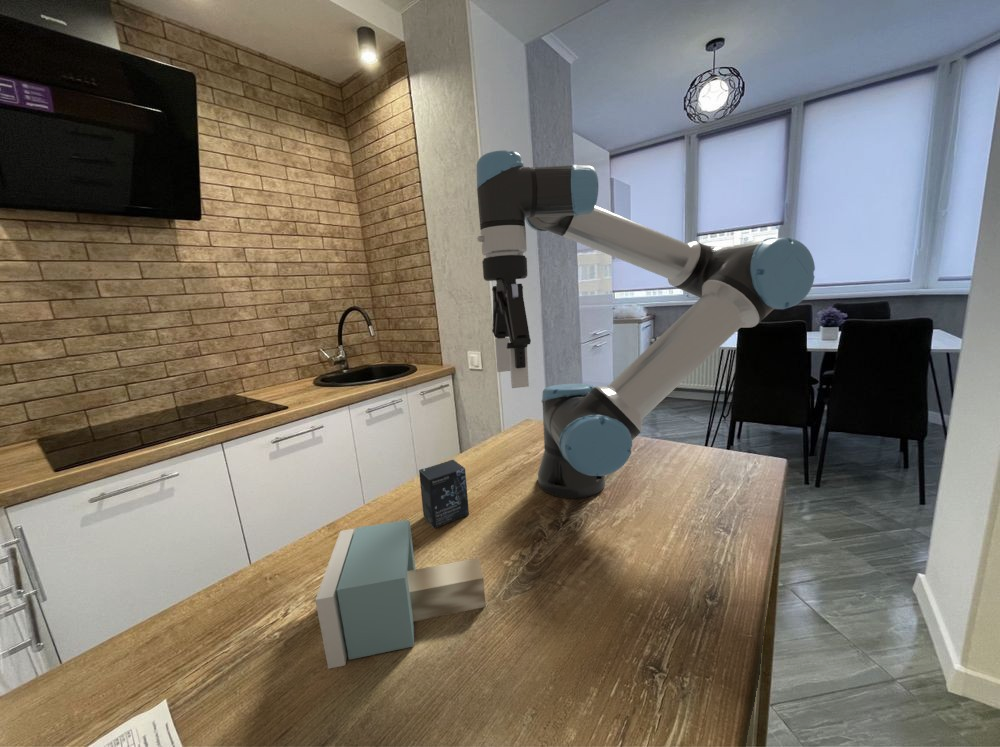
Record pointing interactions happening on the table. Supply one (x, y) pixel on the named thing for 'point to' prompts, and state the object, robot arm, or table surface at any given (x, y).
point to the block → (377, 590)
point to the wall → (334, 603)
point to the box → (444, 493)
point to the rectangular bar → (446, 589)
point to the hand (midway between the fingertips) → (511, 378)
